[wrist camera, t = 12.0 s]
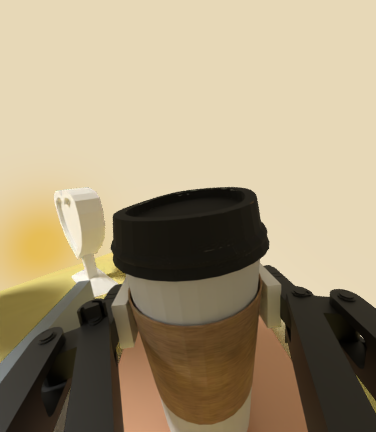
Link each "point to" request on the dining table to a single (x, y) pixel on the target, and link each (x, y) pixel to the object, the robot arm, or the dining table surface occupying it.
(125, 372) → the terracotta tile
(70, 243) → the heart sculpture
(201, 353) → the coffee cup
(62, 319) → the gray rectangular board
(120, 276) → the dining table surface
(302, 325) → the robot arm
